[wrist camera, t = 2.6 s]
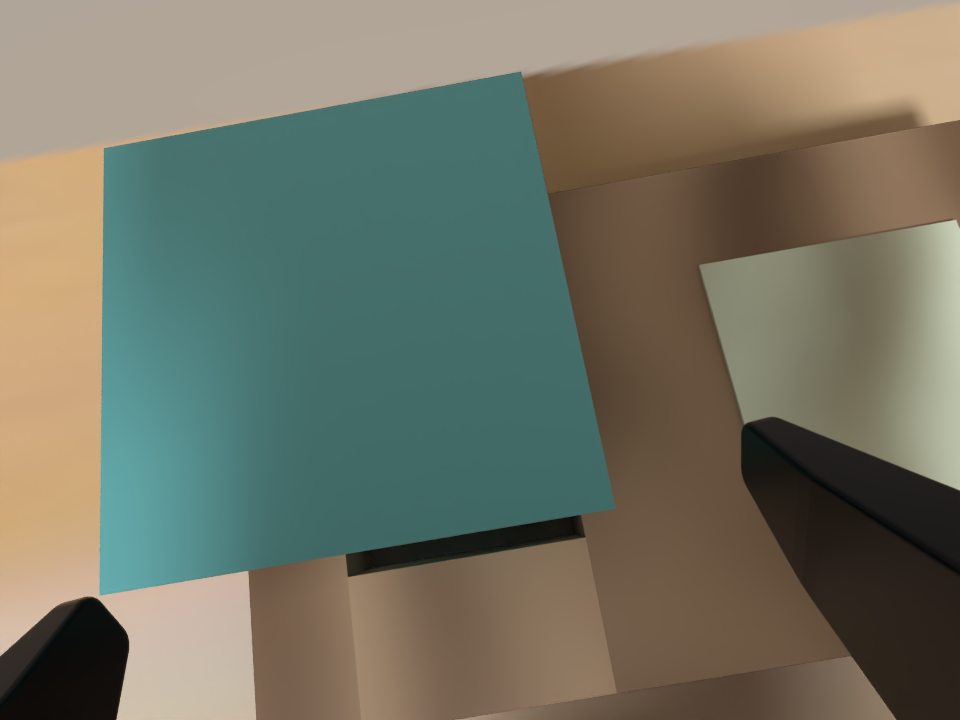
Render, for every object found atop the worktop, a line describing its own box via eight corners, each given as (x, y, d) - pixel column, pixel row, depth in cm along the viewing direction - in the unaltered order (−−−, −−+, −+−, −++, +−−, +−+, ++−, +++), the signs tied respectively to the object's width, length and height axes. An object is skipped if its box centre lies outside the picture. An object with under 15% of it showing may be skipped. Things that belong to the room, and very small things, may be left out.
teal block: (518, 364, 18) (521, 70, 6) (546, 510, 17) (615, 508, 5) (377, 388, 18) (104, 148, 6) (395, 536, 17) (99, 594, 5)
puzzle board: (925, 166, 19) (987, 113, 16) (1099, 585, 16) (1211, 599, 13) (267, 283, 19) (229, 249, 17) (297, 715, 16) (256, 753, 13)
